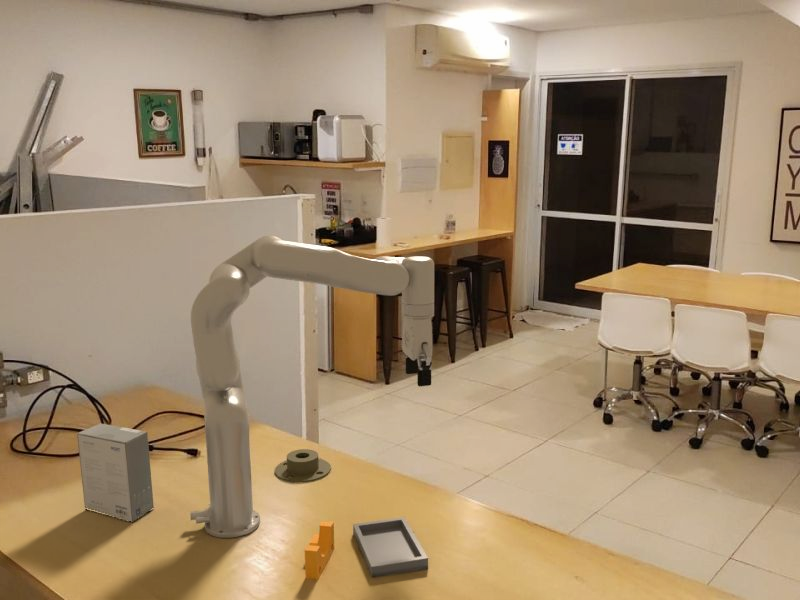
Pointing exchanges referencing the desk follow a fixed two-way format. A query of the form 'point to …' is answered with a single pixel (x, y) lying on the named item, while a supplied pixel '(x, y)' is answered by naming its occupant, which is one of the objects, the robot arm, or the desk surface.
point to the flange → (302, 467)
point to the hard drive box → (116, 471)
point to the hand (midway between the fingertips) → (418, 379)
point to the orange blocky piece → (319, 550)
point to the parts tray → (389, 547)
